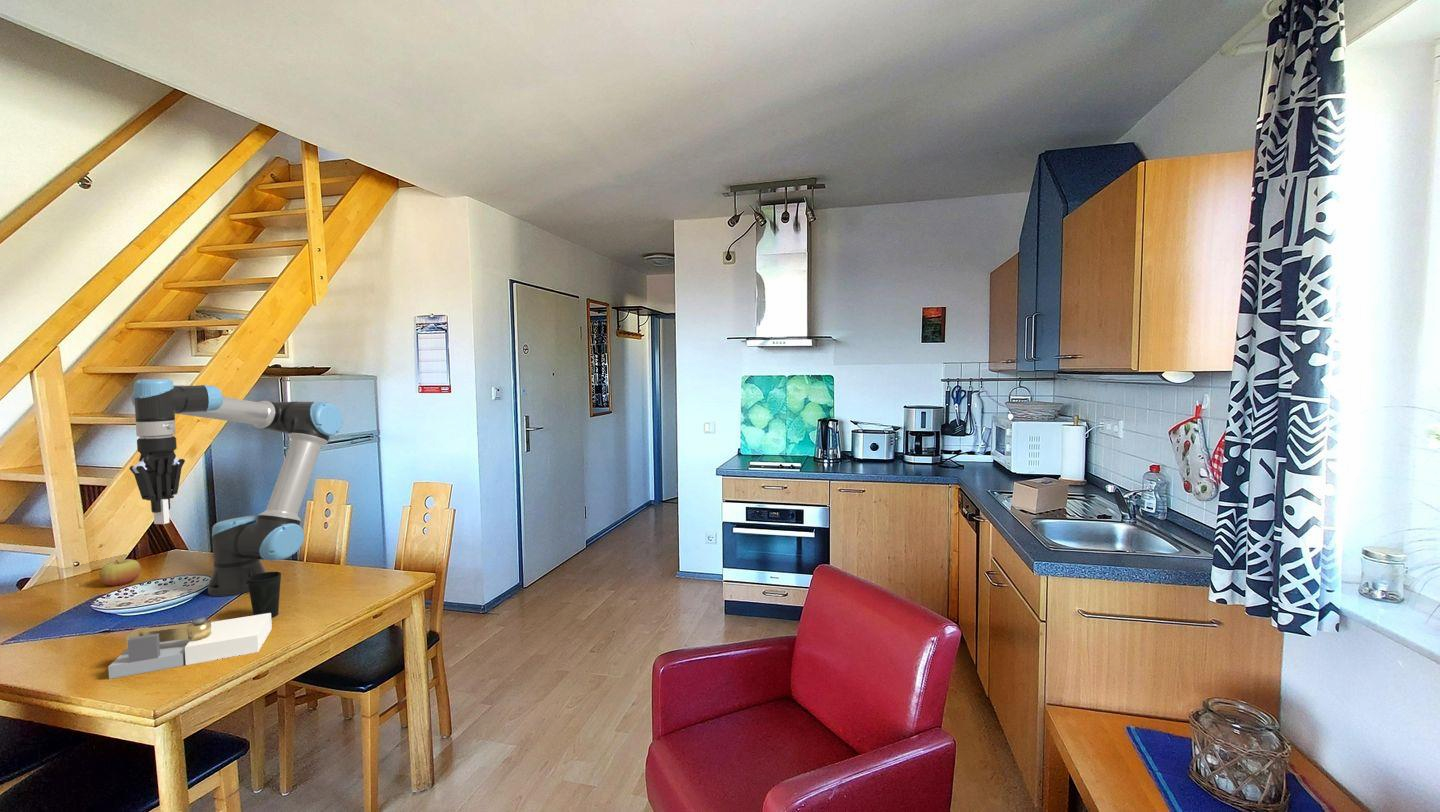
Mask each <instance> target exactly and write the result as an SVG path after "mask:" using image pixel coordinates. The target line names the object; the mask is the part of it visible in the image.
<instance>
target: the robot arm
mask: <svg viewBox="0 0 1440 812" xmlns="http://www.w3.org/2000/svg"><path fill="white" fill-rule="evenodd" d="M130 396H131V397H130V400H131V402H132V405H133V406H134V415H135V435H136V436H137V437H138V438H137V439H136V446H137V447H136V448H137V452H138V453H139V454H140V455H139V458H138V463H137V464H135V465H130V467H129V471H130V472H131V473H132V474H133V475H134V478H135V481H136V484H137V487H138V488H137V489H138V490H139V494H140V497H141V499H142V500H146V501H150V510H151V513H152V514H153V524H154V525H165V524H170V523H171V522H170V510H171V499H174V498H175V495H177V494H178V492H179V487H180V480H181V474H182V468H183V466H184V464H185V463H186V460H185V459H184V458H178V457H177V455H176V453H175V450H177V447H178V446H177V445H178V444H177V437H176V436H173V435H175V434H176V432H177V431H176V415H182V416H190V417H197V418H204V419H212V420H217V421H218V420H220V421H226V422H234V423H242V424H248V425H252V426H254V427H255V428H257V429H263V430H269V431H273V432H278V433H284V434H288V435H287V436H288V437H289V439H290V441H291V442H290V444H289V446H288V449H287V452H286V455H285V458H284V461H283V462H282V466H281V468H280V471H279V473H278V476H277V480H276V482H275V484H274V487H273V488H274V489H273V490H272V493H271V496H270V499H269V501H268V504H267V506H266V509H265V510H264V511H262V512H261V513H260V512H259V513H258V514H257V515H246V516H240V517H233V518H230V519H225V520H221V521H218V522H216V523H214V525H213V526H212V529H211V530H212V531H211V533H212V534H211V540H212V541H211V543H212V555H213V556H212V557H213V571H212V574H211V577H210V580H209V582H208V586H207V594H208V595H210V596H212V597H227V596H235V595H241V594H246V593H249V587H248V581H247V579H248V578H249V577H251V576H253V575H256V574H260V573H265V572H266V569H265V567H264V566H263V563H262V562H261V560H265V561H268V562H270V561H283V560H286V559H288V558H289V559H290V557H292V556H293V555H295V554H296V553H297V552H298V551H299V549H300V548H301V547H302V545H303V542H304V539H305V534H304V529H303V527H301V526H300V525H301V522H302V519H301V518H300V517H299V511H300V508H301V506H302V502H303V500H304V497H305V493H306V491H307V488H308V486H309V485H308V484H309V483H310V482H309V481H310V479H311V476H312V474H313V471H314V468H315V465H316V462H317V459H318V456H319V453H320V450H321V448H322V447H324V446H325V445H327V444H328V443H329V440H330V437H331V436H335V435H336V434H338V433H339V432H340V430H342V427H343V415H342V413H341V412H340V410H339V408H338V407H337V406H336V405H335V404H333V403H331V402H324V401H270V400H261V401H252V400H248V399H247V400H246V399H241V398H236V397H230V396H223V392H222V391H221V389H220V388H218V387H217V386H215V385H206V384H201V385H174V383H173V380H172V379H168V378H163V379H162V378H161V379H160V378H157V379H153V378H152V379H149V378H147V379H138V380H136V381H134V384H133V392H132V394H131V395H130Z"/></svg>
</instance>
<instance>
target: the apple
mask: <svg viewBox="0 0 1440 812" xmlns="http://www.w3.org/2000/svg"><path fill="white" fill-rule="evenodd" d="M141 573H142V567H141V564H140V562H139V561H137V560H135V559H131V558H130V559H129V558H127V559H121V560H115V561H112V562H109V563H107V564H104V565H103V566H102V567H101V569H100V571H99V573H98V578H99V580H100V581H101V582H102V583H103V584H105V585H106V586H108V587H110V586H112V587H114V586H115V587H116V586H122V585H125V584H126V585H127V584H129V583H132V582H133V581H135V580H137V578H138V577H139V576H140V574H141Z"/></svg>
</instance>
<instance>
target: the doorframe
mask: <svg viewBox="0 0 1440 812" xmlns="http://www.w3.org/2000/svg"><path fill="white" fill-rule="evenodd" d="M205 620H206V617H198V618H195V619H193V620H192V622H191V623H192V624H193V625H198V624H202V623H204V622H205ZM272 623H273V622H272V618H271V613H266V614H260V615H250V616H249V615H247V616H242V617H236V618H230V619H229V618H228V619H222V620H215V621H211V634H210V635H208V636H206V637H204V638H200V639H194V640H190V639H182V640H175V641H167V642H159V633H158V634H151V635H145V636H139V637H132V638H130V639H129V640H128V648H127V647H126V649H125V650H124V651H123V652H122V653H121V654H120V655H119V656H117V658H115V660H113V661H112V662H111V663H110V664H109V665H108V668H107V669H108V680H113V679H117V678H123V677H128V676H133V675H138V674H139V675H140V674H146V673H151V672H157V671H163V670H166V669H173V668H178V667H182V666H190V665H194V664H195V665H196V664H200V663H206V662H211V661H217V659H218V660H221V659H222V658H223V659H227V658H228V657H229V658H234V657H239V655H240V656H245V655H249V654H250V653H251V654H255V653H259V651H260V650H261V648H262V647H263V645H264V643H265V641H266V639H267V638H268V636H269V634H270V633H271V631H272V629H273V625H272ZM262 644H263V645H262ZM251 654H250V655H251ZM233 656H234V657H233Z"/></svg>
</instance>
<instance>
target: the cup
mask: <svg viewBox="0 0 1440 812" xmlns="http://www.w3.org/2000/svg"><path fill="white" fill-rule="evenodd" d="M281 578H282V573H281V572H279V571H267V572H265V573H260V574H256V575H253V576H251V577H249V578H248V579H247V581H248V587H249V592H248V593H249V598H250V604H251V609H252V614H253V615H260V614H266V613H271V619H272V618H275V617H277V616H278V615H279V609H280V596H281V595H280V591H281V582H282V581H281ZM253 615H252V616H253Z"/></svg>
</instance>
